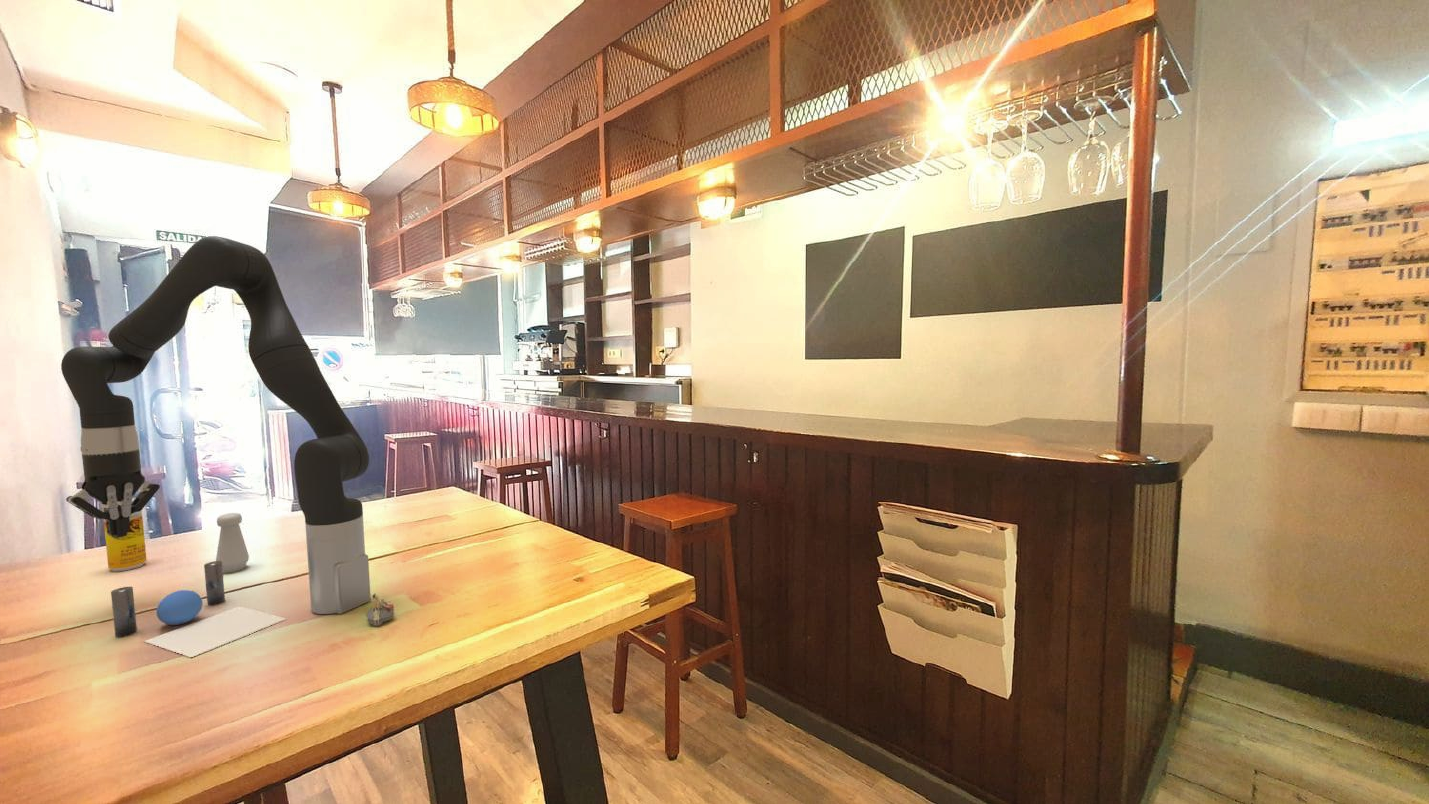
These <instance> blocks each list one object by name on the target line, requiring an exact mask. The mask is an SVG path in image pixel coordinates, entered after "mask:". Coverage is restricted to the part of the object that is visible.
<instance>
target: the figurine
mask: <svg viewBox="0 0 1429 804" xmlns="http://www.w3.org/2000/svg"><path fill="white" fill-rule="evenodd" d="M371 597H372V600H374V606H373V607H371V608H370V609H368V610H367V611H366V612H365V617H366V618H367V620H366V621H367V623H369V624H371V625H372V626H373V627H378V626H381V625H382V624H384V623H386V621H387V622H389V621H391V620H392V619H393V618H394V615H395V609H394V608H395V605H394V604H392V603H391V600H389V601H386V600H385V599H384V598H382V599H381V598H380V597H379V596H378V595H377V593H374V594H373V595H372V596H371ZM383 622H384V623H383Z"/></svg>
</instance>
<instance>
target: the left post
mask: <svg viewBox="0 0 1429 804" xmlns="http://www.w3.org/2000/svg"><path fill="white" fill-rule="evenodd" d="M110 595H111V605H112V616H113V617H112V618H113V627H114V633H115V634H114V636H115V637H116V638H124V637H128V636H131V635H134V634H135V633H137V631H138V629H137V628H138V626H137V618H136V608H135V599H134V598H135V597H134V596H135V595H134V588H133V586H124V587H123V586H122V587H118V588H115V589H113V590H111V591H110Z"/></svg>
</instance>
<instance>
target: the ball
mask: <svg viewBox="0 0 1429 804" xmlns="http://www.w3.org/2000/svg"><path fill="white" fill-rule="evenodd" d="M202 608H203V599H202V596H200V594H198V593H197V592H195V591H193V590H188V589H183V590H177V591H174V592H171V593H170V594H168V595H166V596H165V597H164V598H162V599H161V601H160V602H158V605H157V607H156V616H157V619H158V620H159V621H160V622H162V623H163V624H165V625H168V626H179V625H183V624H186V623H188V622H190V621H192V620H193V619H194V618H196V617H197V616H198V615H199V613H200V612H201V610H202Z"/></svg>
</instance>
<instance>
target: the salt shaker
mask: <svg viewBox="0 0 1429 804" xmlns="http://www.w3.org/2000/svg"><path fill="white" fill-rule="evenodd" d="M242 517H243V516H242V514H240V513H238V512H230V513H225V514H221V515H219V516H218V517H217V518H216V525H217V526H218V527H220V529H219V530H220V532H219V538H218V544H217V551H216V558H215V561H222V569H223V574H230V573H231V574H232V573H236V572H239V571H243V570H244V569H245V568H246V566H247V564H248V561H249V559H250V554H249V552H248V549H247V546H246V542H245V539H244V537H243V536H244V535H243V533H242V530H241V525H240V524H241V523H242V521H243V518H242Z"/></svg>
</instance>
